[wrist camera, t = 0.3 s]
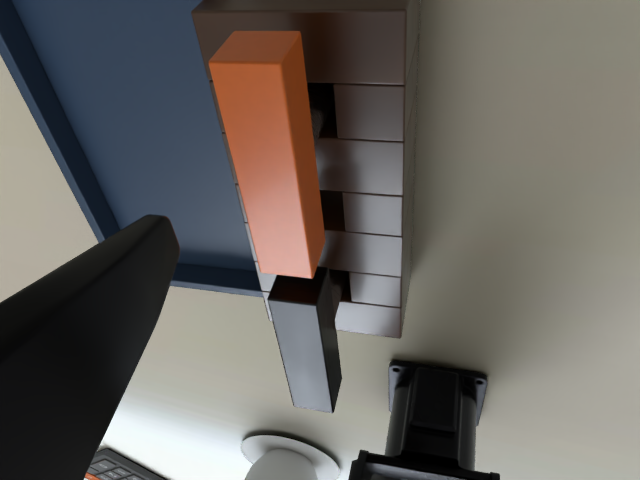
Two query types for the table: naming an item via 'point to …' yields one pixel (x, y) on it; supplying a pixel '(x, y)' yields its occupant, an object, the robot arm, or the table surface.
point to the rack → (348, 139)
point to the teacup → (286, 460)
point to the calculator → (116, 468)
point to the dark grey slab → (309, 335)
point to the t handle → (274, 144)
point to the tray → (133, 124)
